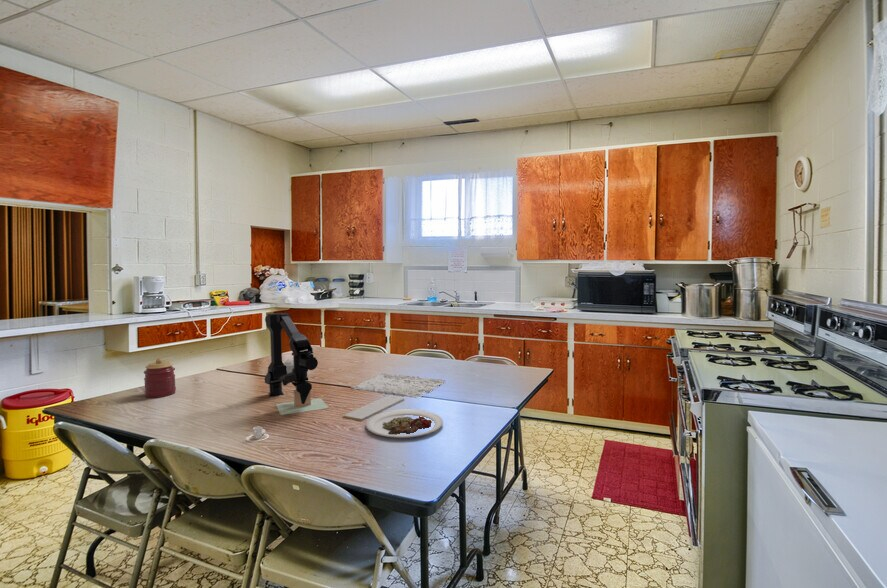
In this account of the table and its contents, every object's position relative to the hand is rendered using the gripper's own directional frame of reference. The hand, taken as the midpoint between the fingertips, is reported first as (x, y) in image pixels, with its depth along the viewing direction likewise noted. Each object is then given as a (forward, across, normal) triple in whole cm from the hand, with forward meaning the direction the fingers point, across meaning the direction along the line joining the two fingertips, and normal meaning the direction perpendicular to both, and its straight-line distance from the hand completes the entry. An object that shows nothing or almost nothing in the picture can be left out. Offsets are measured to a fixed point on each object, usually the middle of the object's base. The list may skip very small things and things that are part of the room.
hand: (301, 400), depth 203 cm
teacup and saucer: (+3, +29, -18) cm, 34 cm away
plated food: (+3, +43, +32) cm, 54 cm away
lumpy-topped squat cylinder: (+3, -59, +5) cm, 59 cm away
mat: (+2, +1, 0) cm, 3 cm away
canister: (+3, -51, -58) cm, 77 cm away
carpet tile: (+3, -12, +51) cm, 52 cm away
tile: (+2, 0, 0) cm, 2 cm away
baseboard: (+3, +16, +28) cm, 32 cm away
